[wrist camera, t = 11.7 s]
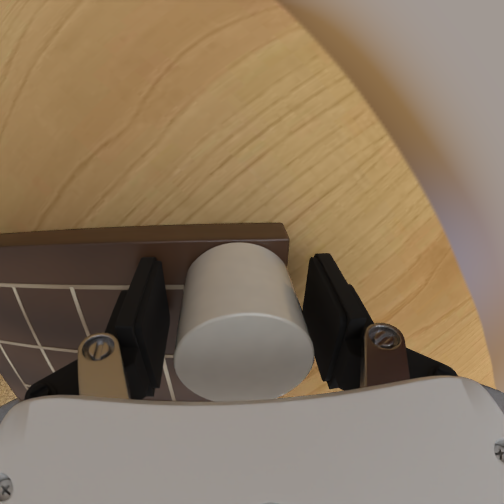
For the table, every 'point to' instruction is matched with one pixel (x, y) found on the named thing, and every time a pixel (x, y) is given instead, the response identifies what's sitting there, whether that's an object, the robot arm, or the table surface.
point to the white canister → (241, 326)
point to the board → (97, 289)
